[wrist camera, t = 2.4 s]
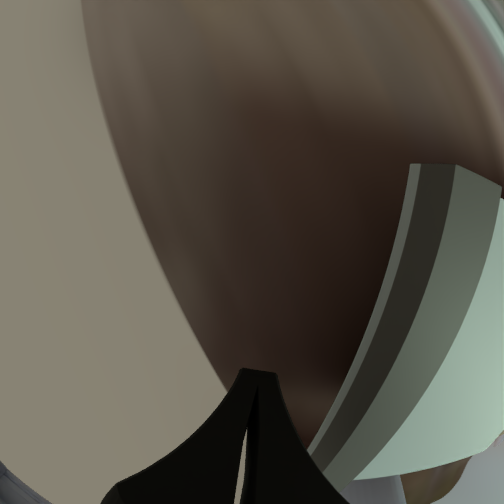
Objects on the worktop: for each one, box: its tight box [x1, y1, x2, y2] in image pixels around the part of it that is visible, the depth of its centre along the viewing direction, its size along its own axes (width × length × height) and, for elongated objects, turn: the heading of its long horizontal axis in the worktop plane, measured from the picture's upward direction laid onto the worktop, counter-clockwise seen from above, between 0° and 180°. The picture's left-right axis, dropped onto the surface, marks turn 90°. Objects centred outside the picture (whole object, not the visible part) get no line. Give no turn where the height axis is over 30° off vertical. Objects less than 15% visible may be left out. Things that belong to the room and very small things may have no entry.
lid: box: [307, 164, 504, 493], centre depth 9 cm, size 18×18×3 cm
